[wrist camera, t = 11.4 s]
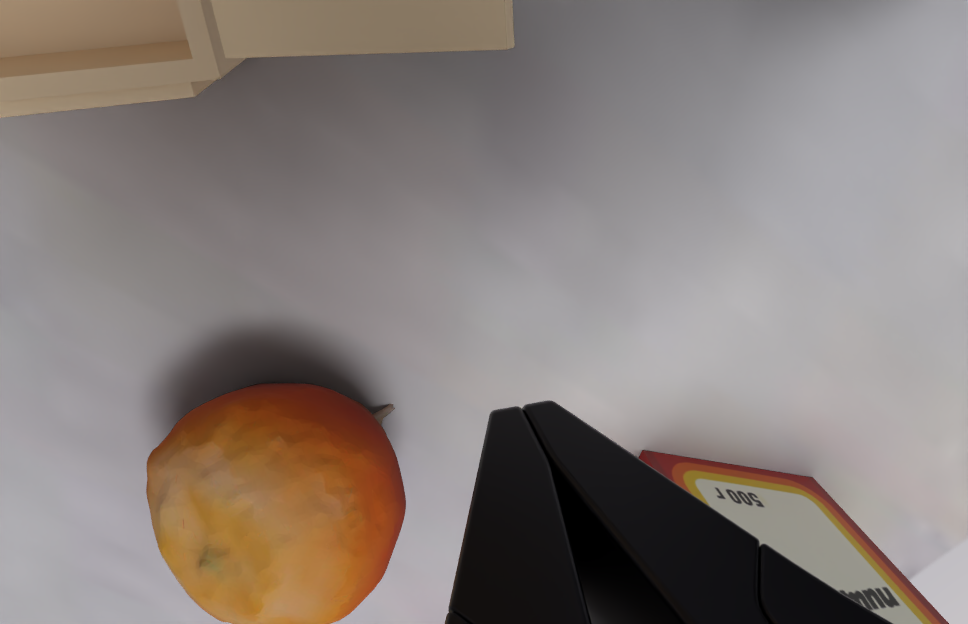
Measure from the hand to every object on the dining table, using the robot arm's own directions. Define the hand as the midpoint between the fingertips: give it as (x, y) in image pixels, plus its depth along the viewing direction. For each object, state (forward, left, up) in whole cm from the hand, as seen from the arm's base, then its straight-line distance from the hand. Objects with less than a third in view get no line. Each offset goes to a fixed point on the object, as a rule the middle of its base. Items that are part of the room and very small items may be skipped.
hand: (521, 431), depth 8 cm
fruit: (+6, +9, -13) cm, 17 cm away
